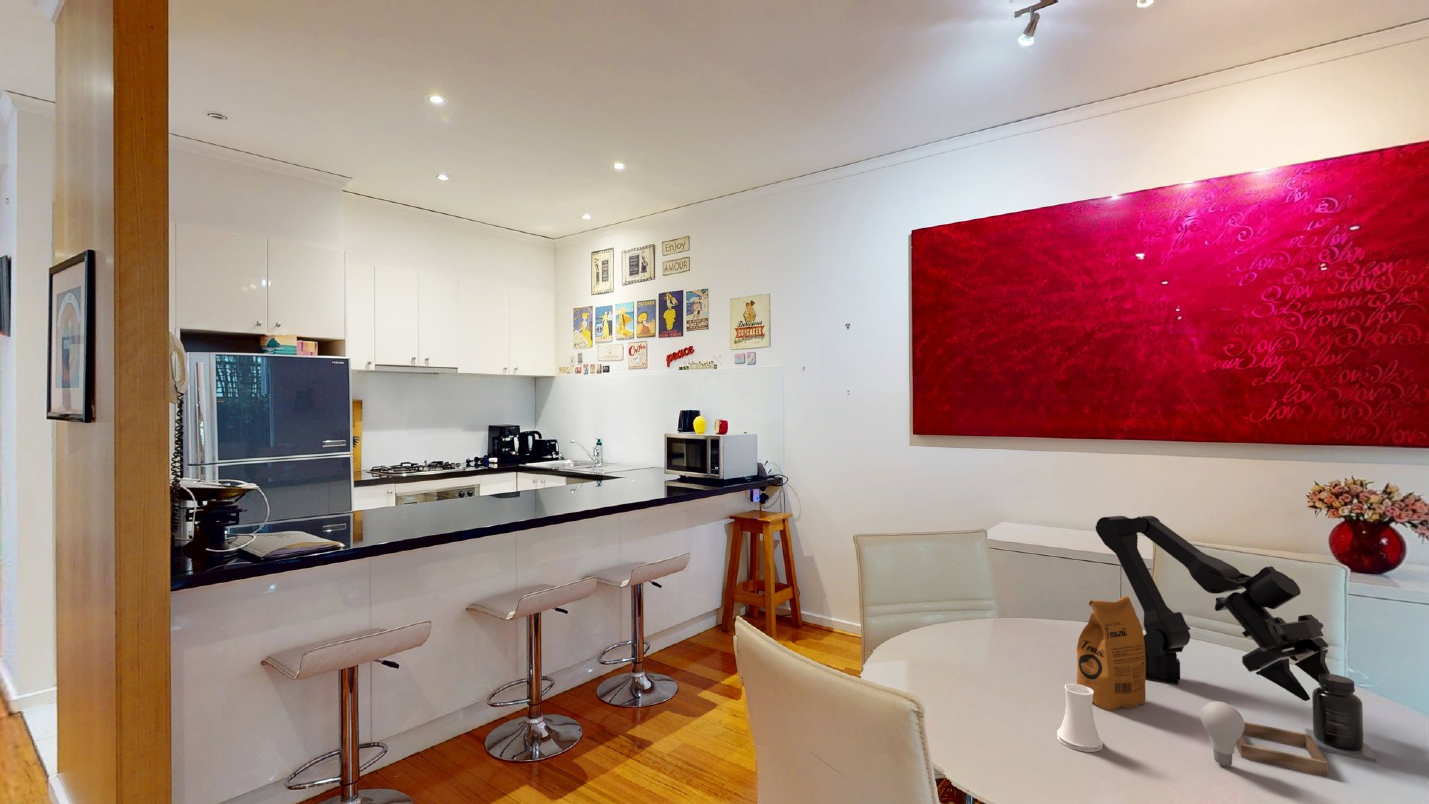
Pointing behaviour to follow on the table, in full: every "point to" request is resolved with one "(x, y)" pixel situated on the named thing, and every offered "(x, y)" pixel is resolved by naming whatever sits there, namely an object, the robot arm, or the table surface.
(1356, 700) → the supplement bottle
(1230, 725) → the lightbulb
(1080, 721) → the vase
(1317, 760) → the wooden square frame
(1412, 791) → the table surface
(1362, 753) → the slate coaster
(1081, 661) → the coffee package
